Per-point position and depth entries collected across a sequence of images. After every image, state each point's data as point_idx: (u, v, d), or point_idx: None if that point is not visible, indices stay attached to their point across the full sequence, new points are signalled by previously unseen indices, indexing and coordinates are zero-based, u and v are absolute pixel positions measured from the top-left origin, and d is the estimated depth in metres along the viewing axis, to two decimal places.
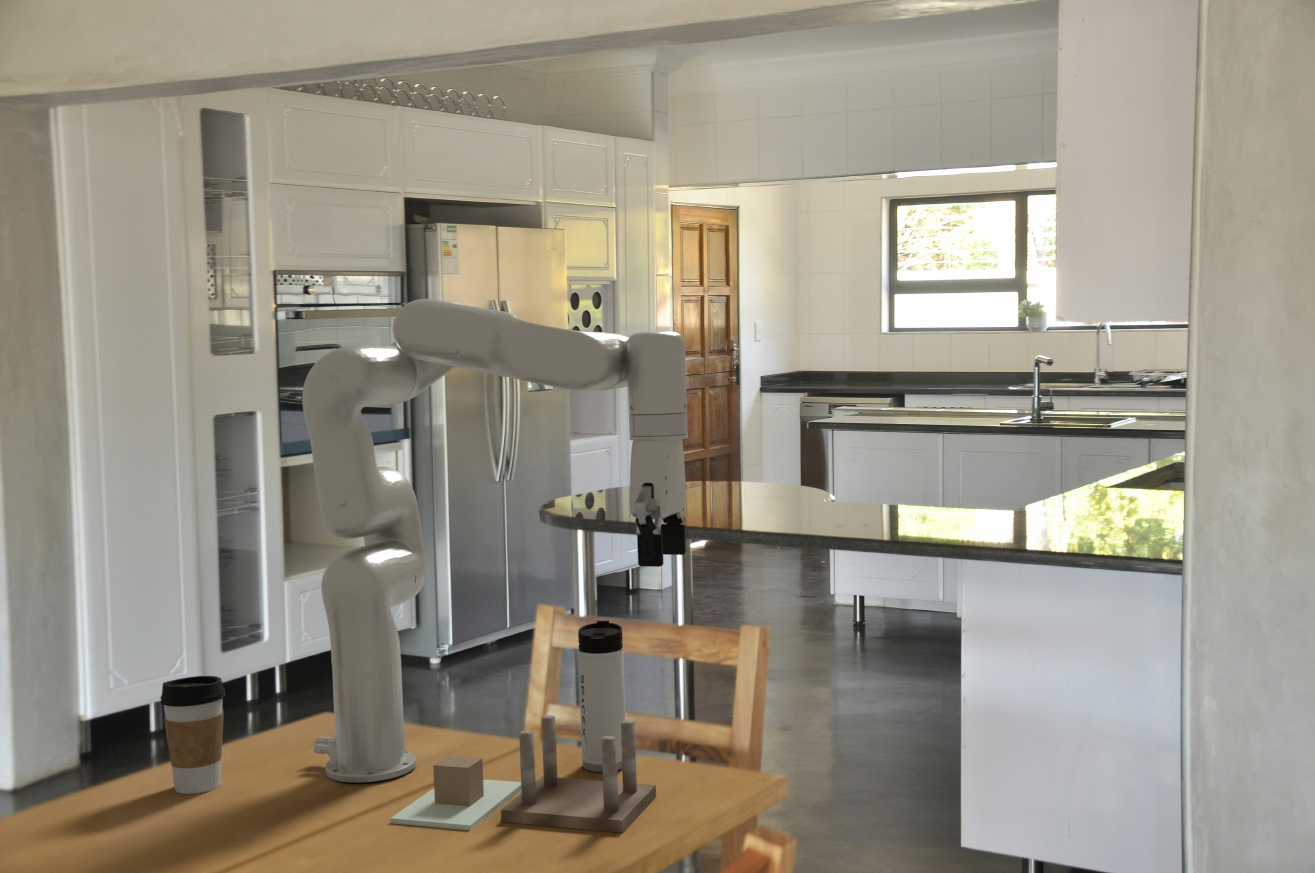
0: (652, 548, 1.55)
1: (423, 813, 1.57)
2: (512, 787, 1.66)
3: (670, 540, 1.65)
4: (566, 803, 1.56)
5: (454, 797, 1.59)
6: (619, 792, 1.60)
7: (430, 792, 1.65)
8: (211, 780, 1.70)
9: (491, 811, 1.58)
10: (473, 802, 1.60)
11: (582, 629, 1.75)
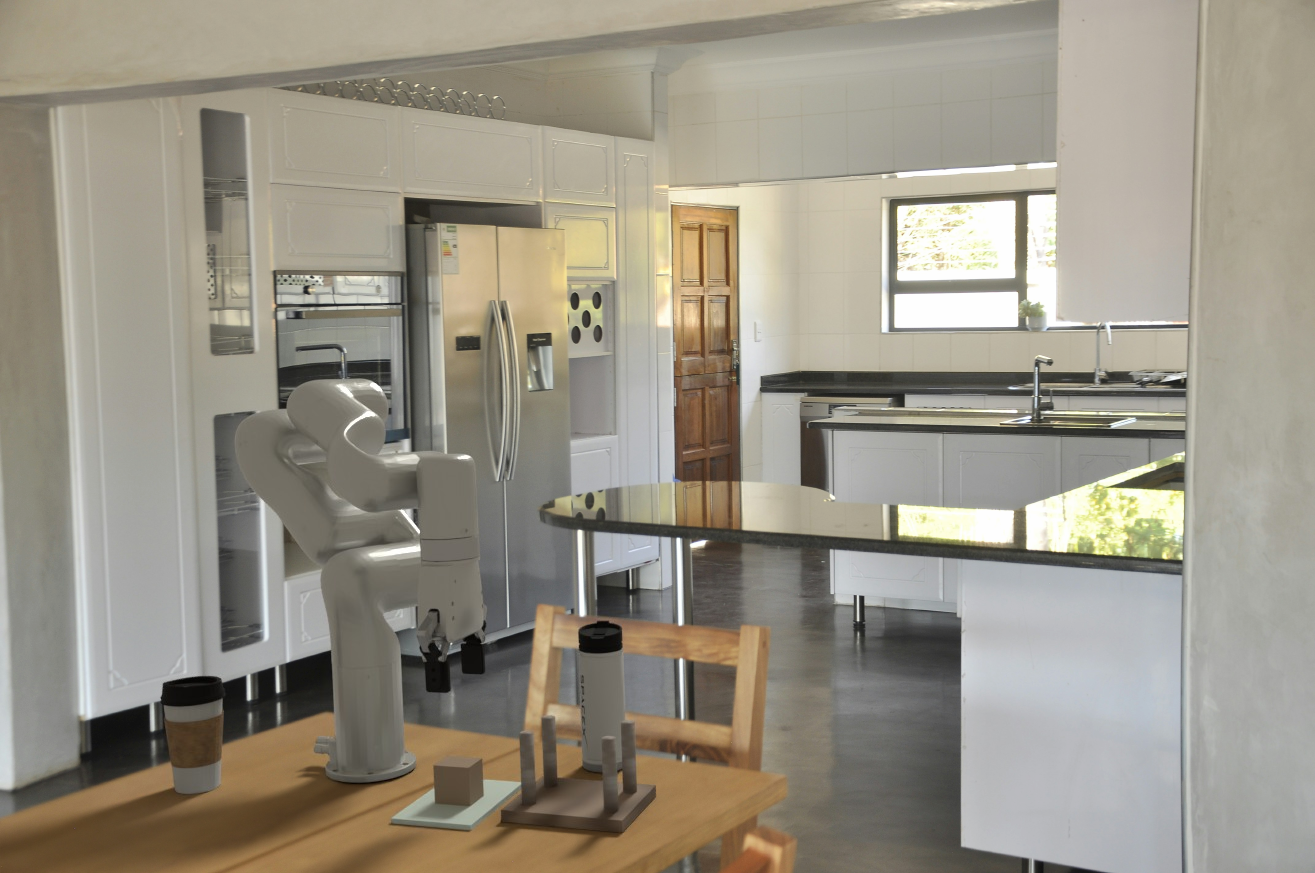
0: (438, 675, 1.55)
1: (423, 813, 1.57)
2: (512, 787, 1.66)
3: (469, 659, 1.65)
4: (566, 803, 1.56)
5: (454, 797, 1.59)
6: (619, 792, 1.60)
7: (430, 792, 1.65)
8: (211, 780, 1.70)
9: (491, 811, 1.58)
10: (473, 802, 1.60)
11: (582, 629, 1.75)
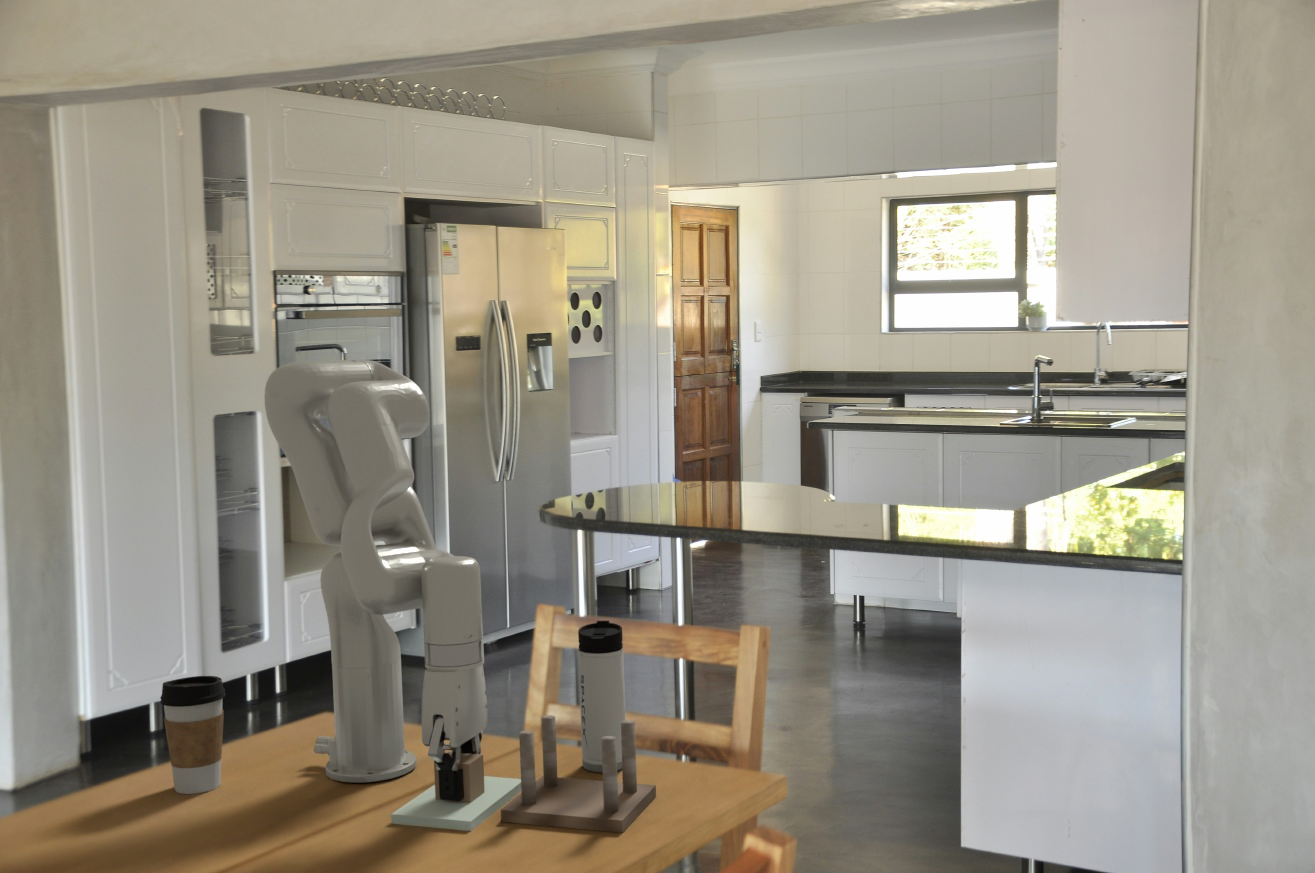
0: (451, 783, 1.58)
1: (424, 809, 1.57)
2: (513, 784, 1.65)
3: None
4: (566, 803, 1.56)
5: None
6: (619, 792, 1.60)
7: (431, 788, 1.64)
8: (211, 780, 1.70)
9: (492, 807, 1.58)
10: (474, 798, 1.60)
11: (582, 629, 1.75)
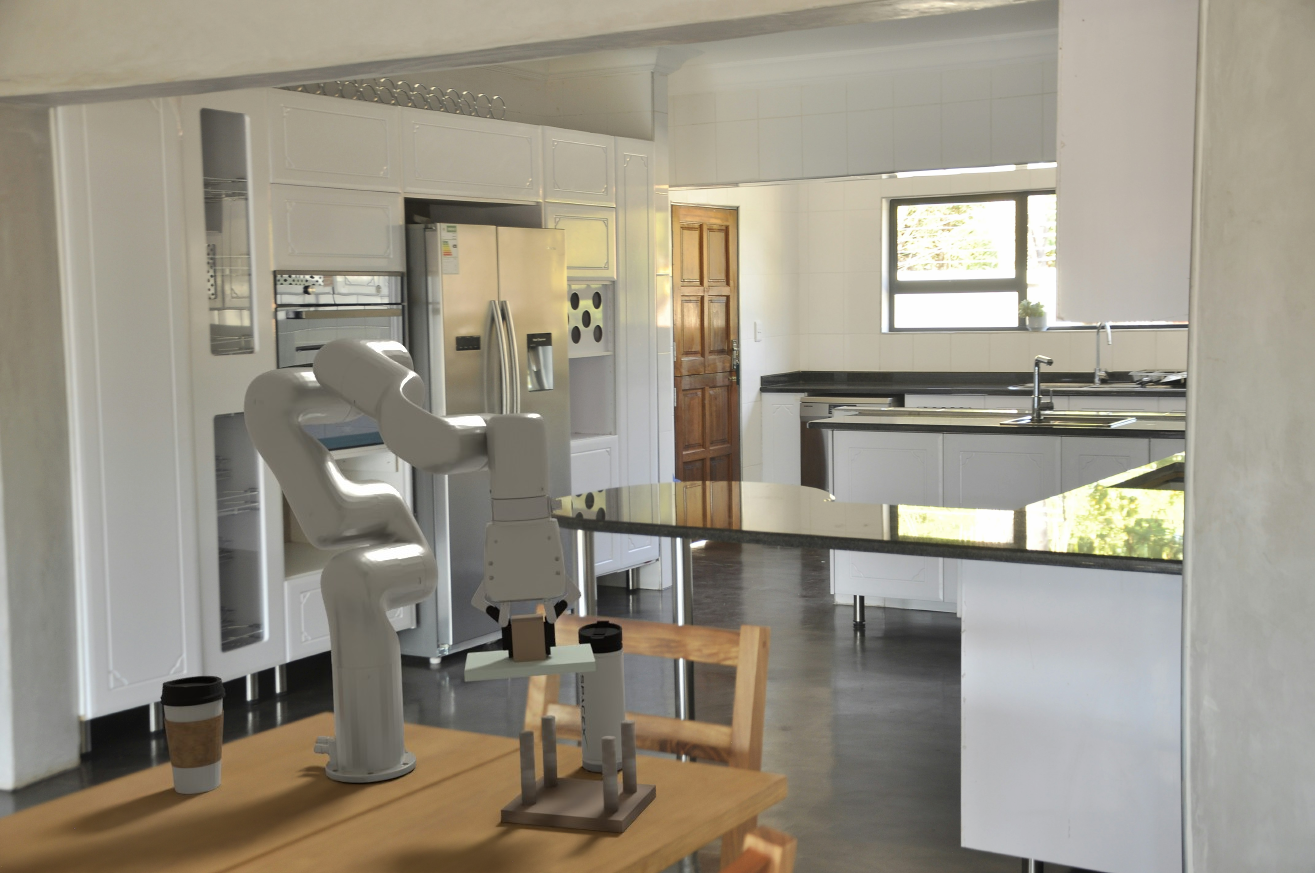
0: (502, 638, 1.57)
1: (485, 657, 1.60)
2: (577, 661, 1.54)
3: None
4: (566, 803, 1.56)
5: None
6: (619, 792, 1.60)
7: None
8: (211, 780, 1.70)
9: (513, 671, 1.53)
10: (521, 660, 1.56)
11: (582, 629, 1.75)
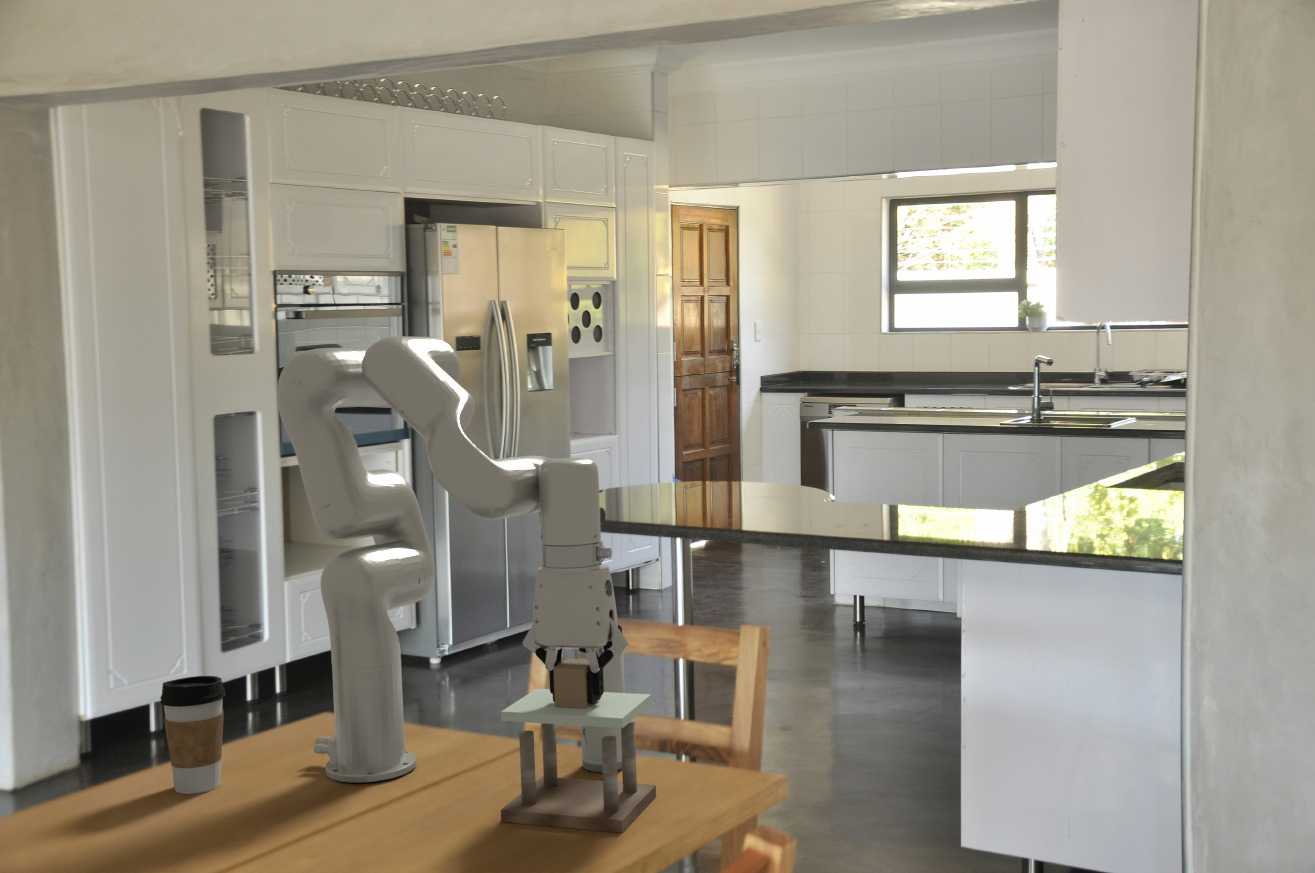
0: None
1: (543, 696, 1.61)
2: (607, 715, 1.51)
3: None
4: (566, 803, 1.56)
5: None
6: (619, 792, 1.60)
7: None
8: (211, 780, 1.70)
9: (545, 717, 1.53)
10: (562, 706, 1.56)
11: None
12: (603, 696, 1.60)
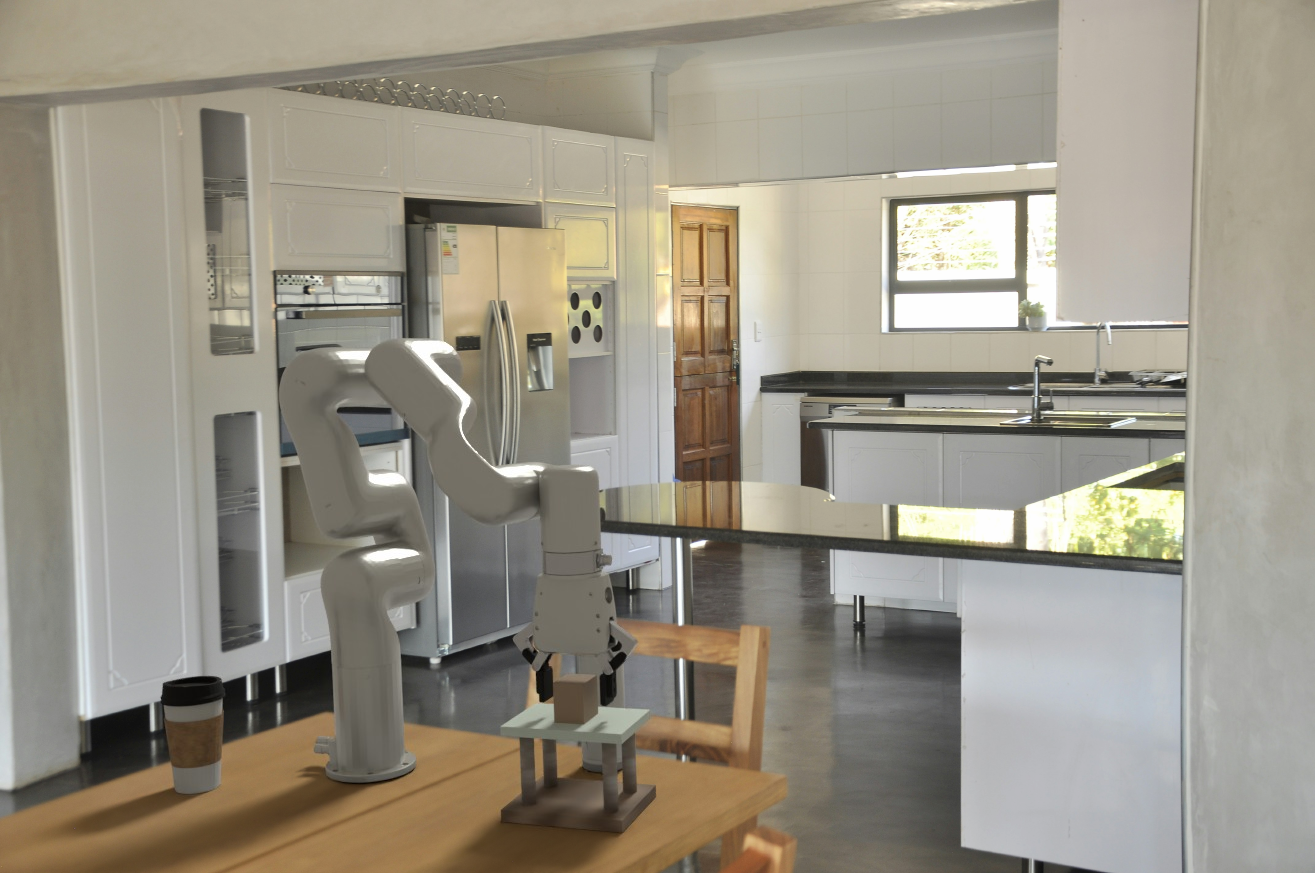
0: None
1: (542, 710, 1.62)
2: (606, 731, 1.51)
3: None
4: (566, 803, 1.56)
5: None
6: (619, 792, 1.60)
7: (602, 707, 1.62)
8: (211, 780, 1.70)
9: (544, 732, 1.53)
10: (561, 721, 1.56)
11: None
12: (602, 711, 1.60)
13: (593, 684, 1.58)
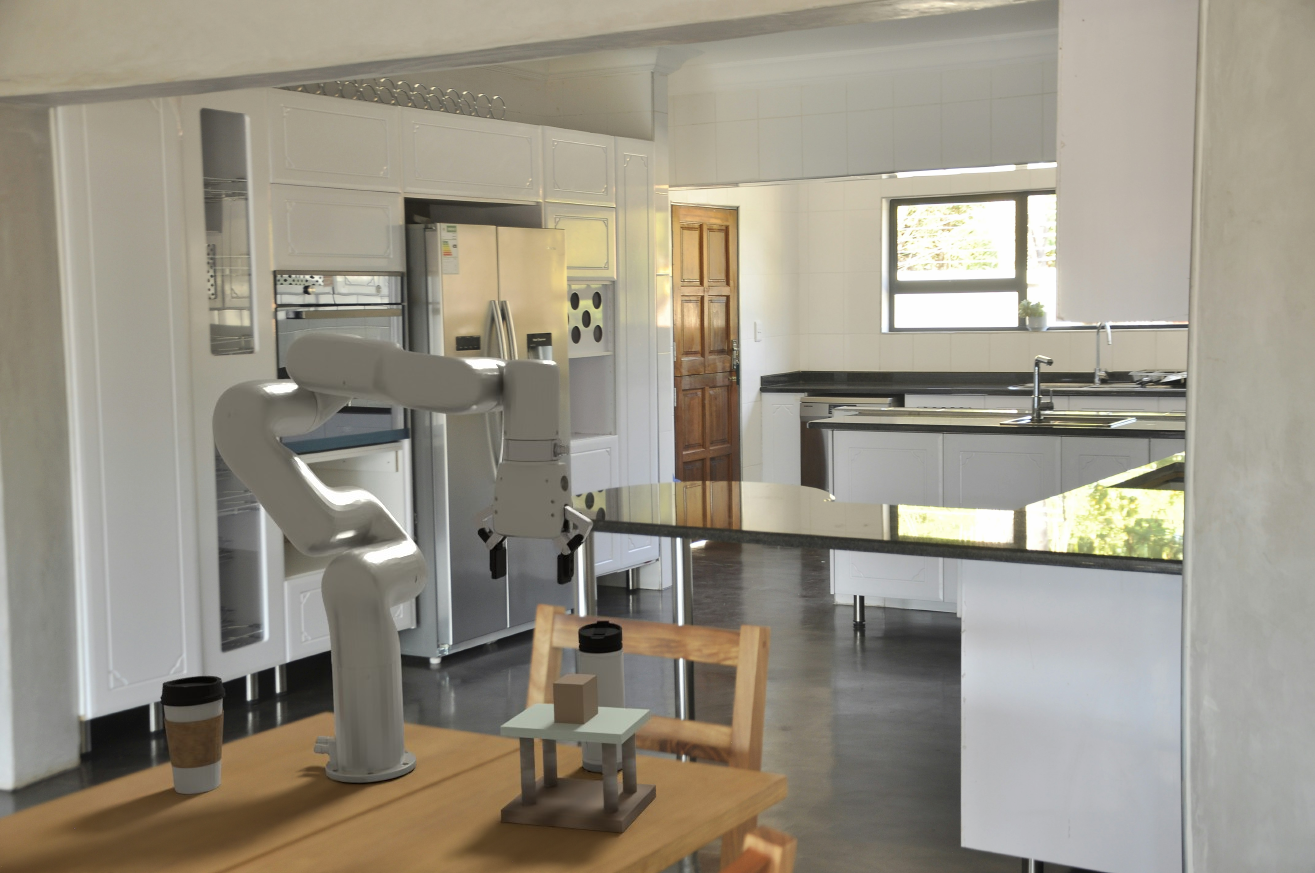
0: (490, 560, 1.68)
1: (542, 710, 1.62)
2: (606, 731, 1.51)
3: None
4: (566, 803, 1.56)
5: None
6: (619, 792, 1.60)
7: (602, 707, 1.62)
8: (211, 780, 1.70)
9: (544, 732, 1.53)
10: (561, 721, 1.56)
11: (582, 629, 1.75)
12: (602, 711, 1.60)
13: (593, 684, 1.58)
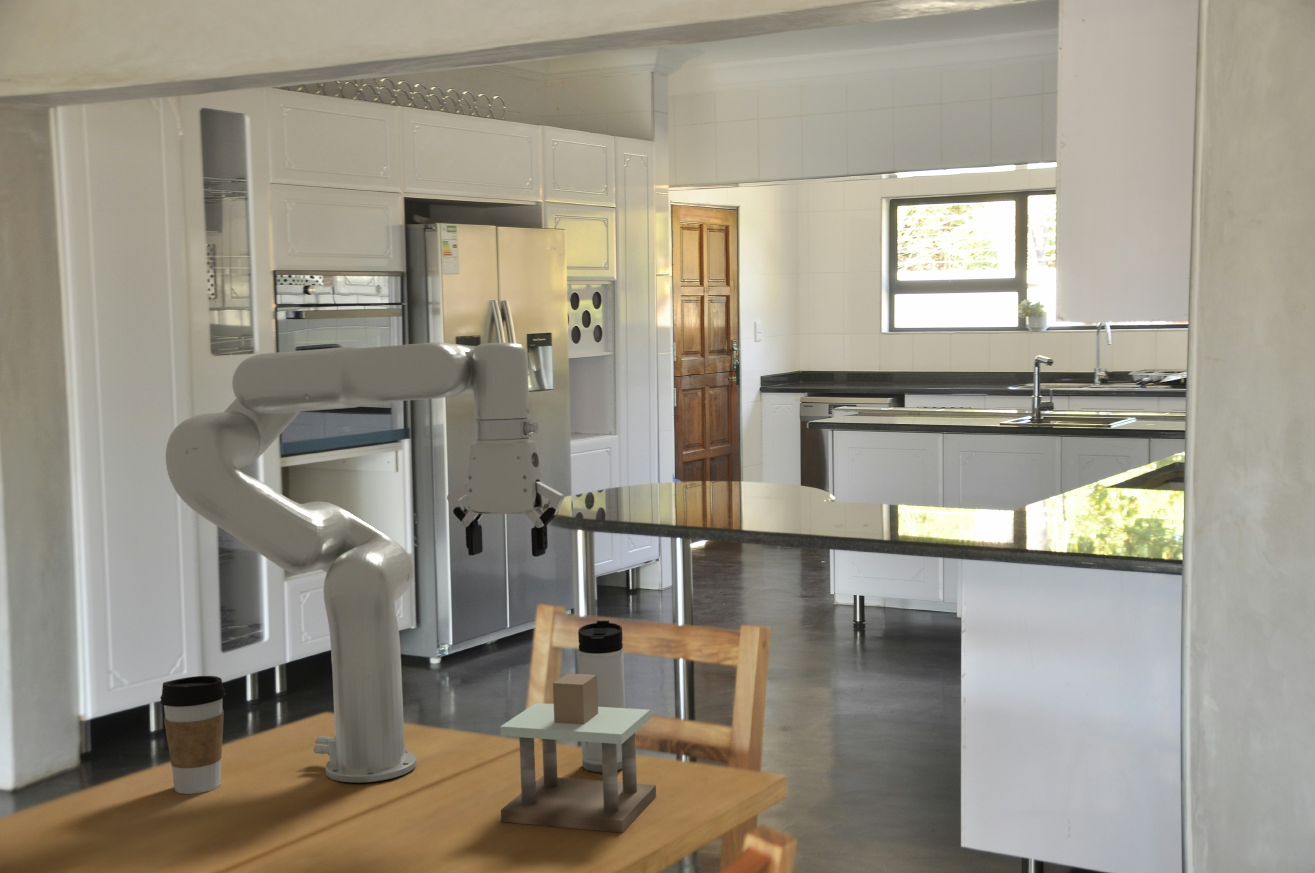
0: None
1: (542, 710, 1.62)
2: (606, 731, 1.51)
3: None
4: (566, 803, 1.56)
5: None
6: (619, 792, 1.60)
7: (602, 707, 1.62)
8: (211, 780, 1.70)
9: (544, 732, 1.53)
10: (561, 721, 1.56)
11: (582, 629, 1.75)
12: (602, 711, 1.60)
13: (593, 684, 1.58)
